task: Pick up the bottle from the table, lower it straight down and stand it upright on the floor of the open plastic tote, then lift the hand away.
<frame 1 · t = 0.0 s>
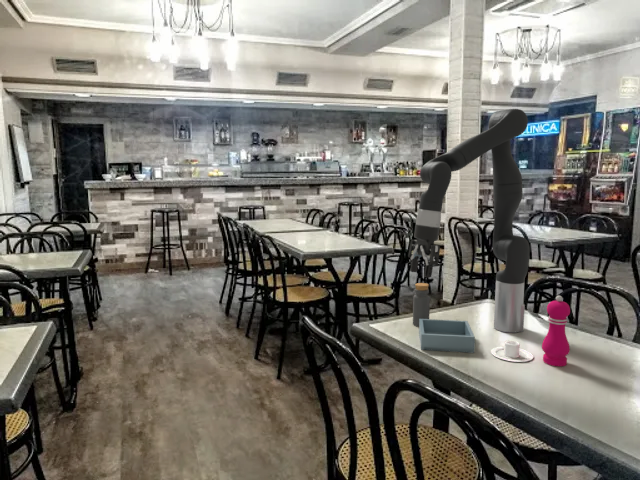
hand: (420, 274, 153), 22 cm above the table, tool pointing down, fingers open, 8 cm apart
bottle: (420, 325, 173), on the table
tote: (444, 342, 155), on the table
pepper mill: (554, 363, 138), on the table
candle holder: (511, 356, 144), on the table
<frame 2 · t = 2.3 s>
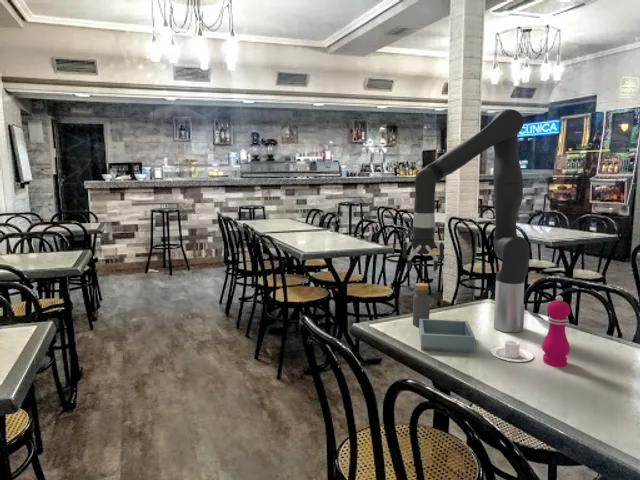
hand: (422, 270, 170), 20 cm above the table, tool pointing down, fingers open, 8 cm apart
nothing on the table moved.
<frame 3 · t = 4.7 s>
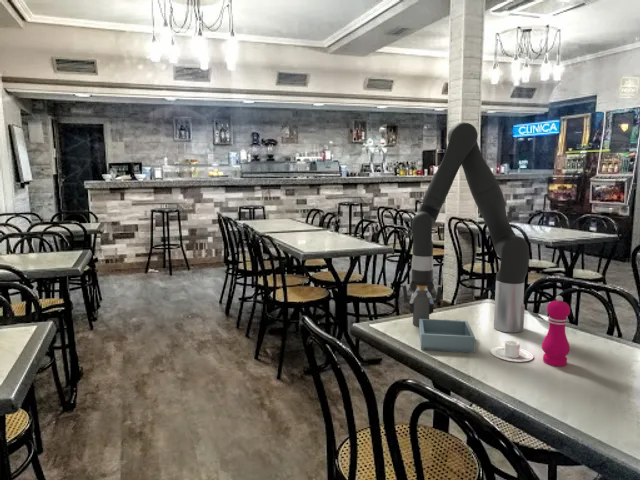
hand: (421, 313, 172), 4 cm above the table, tool pointing down, fingers closed on bottle, 6 cm apart
bottle: (420, 325, 173), on the table, touching gripper
everything else where it was.
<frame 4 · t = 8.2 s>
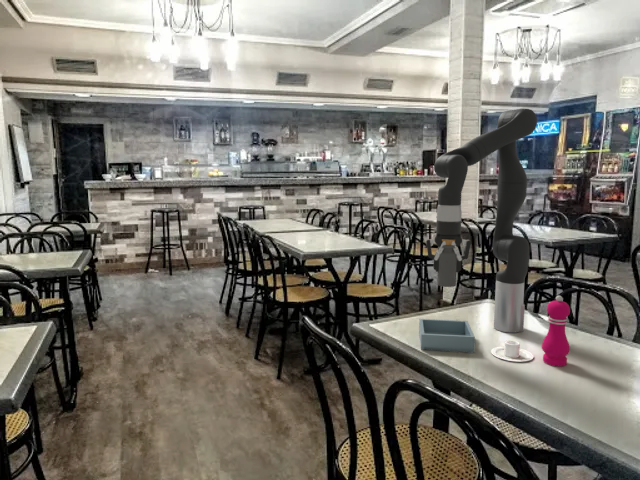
hand: (447, 271, 152), 23 cm above the table, tool pointing down, fingers closed on bottle, 6 cm apart
bottle: (446, 285, 153), point 19 cm above the table, touching gripper
everything else where it was.
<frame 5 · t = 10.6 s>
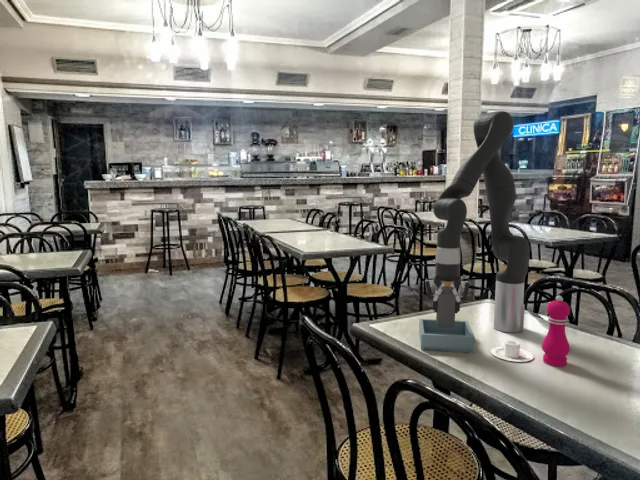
hand: (445, 312, 154), 10 cm above the table, tool pointing down, fingers closed on bottle, 6 cm apart
bottle: (445, 325, 154), point 6 cm above the table, touching gripper
everything else where it was.
when the fingers open (7 cm above the table, at t = 12.2 s): bottle drops 2 cm, resting on tote.
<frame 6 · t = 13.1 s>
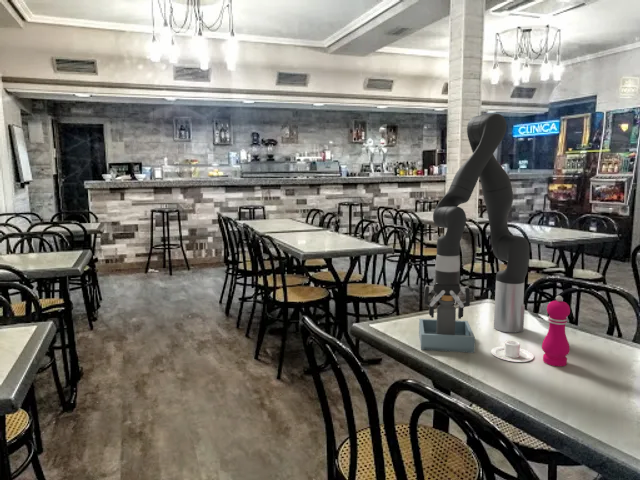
hand: (445, 317, 154), 8 cm above the table, tool pointing down, fingers open, 8 cm apart
bottle: (445, 339, 155), point 1 cm above the table, touching tote
everything else where it was.
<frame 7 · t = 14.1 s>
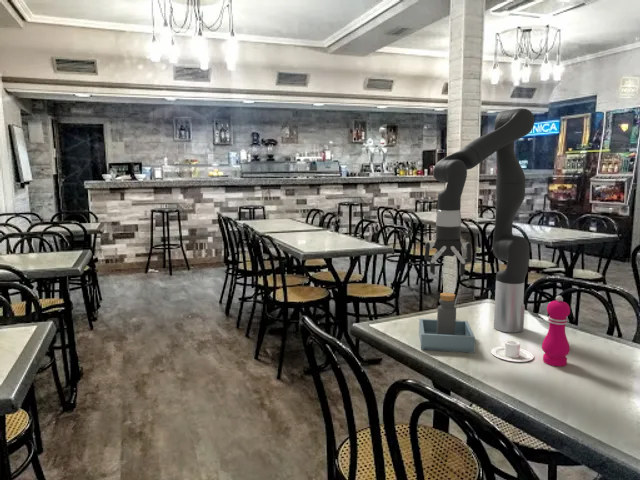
hand: (447, 274, 152), 23 cm above the table, tool pointing down, fingers open, 8 cm apart
nothing on the table moved.
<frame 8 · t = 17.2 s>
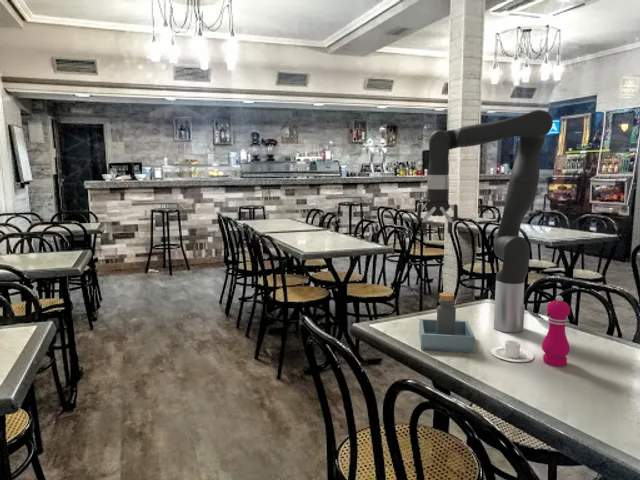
hand: (436, 232, 172), 33 cm above the table, tool pointing down, fingers open, 8 cm apart
nothing on the table moved.
at the end: bottle inside the target area on the tote (0.1 cm from its centre), point 0.8 cm above the tote's base; bottle tilted 0°; the gripper is holding nothing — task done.
